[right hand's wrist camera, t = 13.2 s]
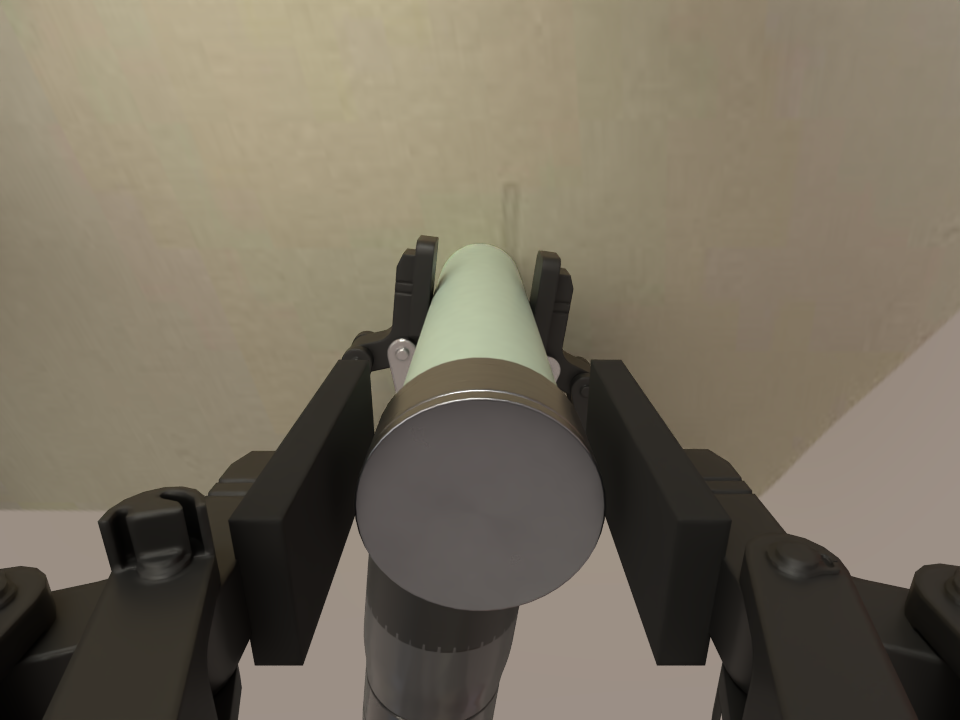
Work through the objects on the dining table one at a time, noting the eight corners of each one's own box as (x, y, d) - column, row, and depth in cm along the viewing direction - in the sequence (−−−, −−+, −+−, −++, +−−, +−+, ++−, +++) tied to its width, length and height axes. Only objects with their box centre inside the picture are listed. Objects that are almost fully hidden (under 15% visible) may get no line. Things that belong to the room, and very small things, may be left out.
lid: (629, 429, 12) (658, 483, 10) (506, 573, 13) (510, 646, 11) (448, 313, 11) (441, 347, 9) (336, 479, 12) (309, 541, 10)
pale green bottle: (536, 273, 28) (633, 473, 10) (490, 337, 29) (507, 616, 12) (468, 226, 27) (448, 358, 10) (424, 294, 28) (332, 523, 11)
